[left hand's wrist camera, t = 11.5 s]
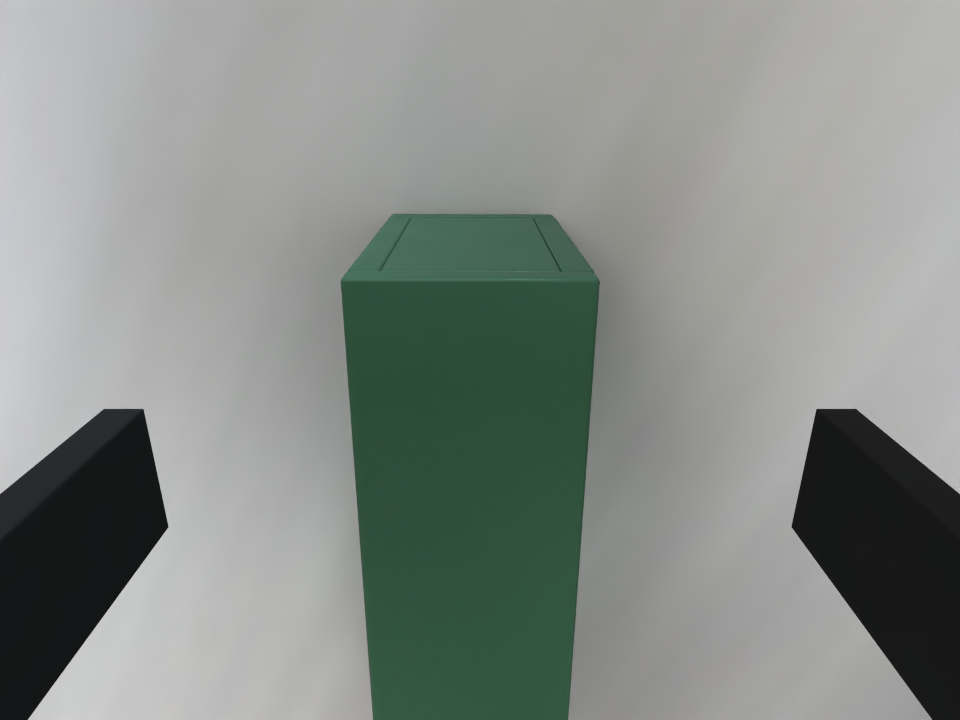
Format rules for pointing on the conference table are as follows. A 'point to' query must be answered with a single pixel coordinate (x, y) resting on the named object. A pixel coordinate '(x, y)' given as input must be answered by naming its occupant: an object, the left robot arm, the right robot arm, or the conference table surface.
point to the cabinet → (470, 460)
